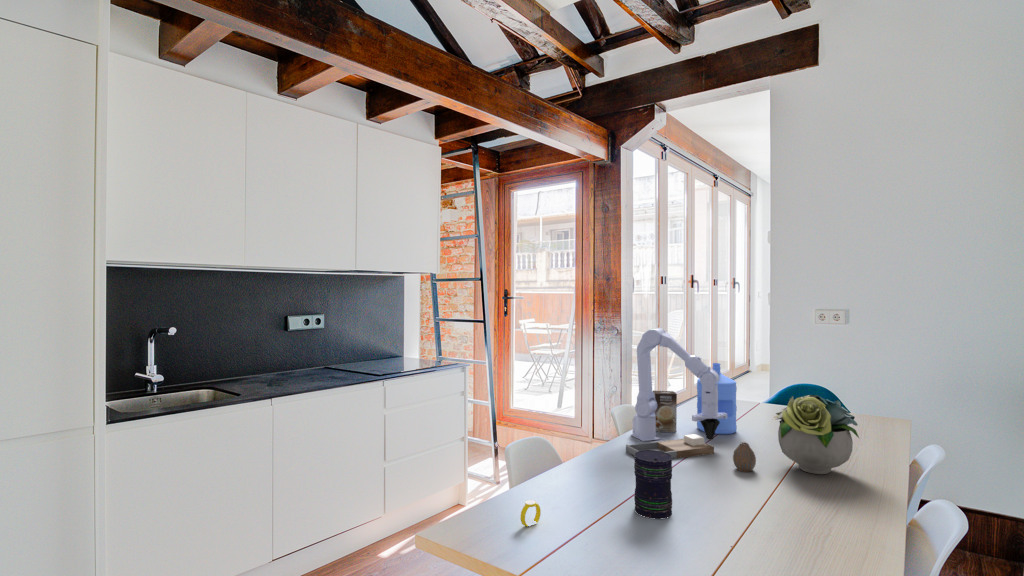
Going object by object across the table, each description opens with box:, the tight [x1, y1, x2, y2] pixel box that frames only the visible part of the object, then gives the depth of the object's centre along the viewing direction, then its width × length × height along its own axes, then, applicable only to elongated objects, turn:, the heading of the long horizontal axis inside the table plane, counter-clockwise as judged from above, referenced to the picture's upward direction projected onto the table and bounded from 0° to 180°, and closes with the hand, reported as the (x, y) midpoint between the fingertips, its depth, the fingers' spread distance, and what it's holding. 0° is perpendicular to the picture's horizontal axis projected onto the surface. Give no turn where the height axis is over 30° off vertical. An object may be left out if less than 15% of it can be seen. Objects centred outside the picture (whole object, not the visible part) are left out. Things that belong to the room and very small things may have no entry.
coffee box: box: [652, 390, 678, 433], centre depth 221 cm, size 9×6×16 cm
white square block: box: [683, 433, 705, 446], centre depth 194 cm, size 5×5×2 cm
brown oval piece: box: [732, 441, 757, 473], centre depth 173 cm, size 7×7×9 cm
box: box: [625, 441, 678, 460], centre depth 188 cm, size 12×13×2 cm
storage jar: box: [633, 450, 673, 520], centre depth 141 cm, size 10×10×15 cm
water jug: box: [696, 362, 738, 435], centre depth 221 cm, size 16×16×28 cm
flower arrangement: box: [772, 394, 860, 475], centre depth 172 cm, size 25×25×24 cm
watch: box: [520, 499, 542, 527], centre depth 132 cm, size 6×3×6 cm, turn 133°
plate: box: [657, 438, 715, 459], centre depth 193 cm, size 12×16×2 cm
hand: (709, 439), depth 196 cm, fingers closed
